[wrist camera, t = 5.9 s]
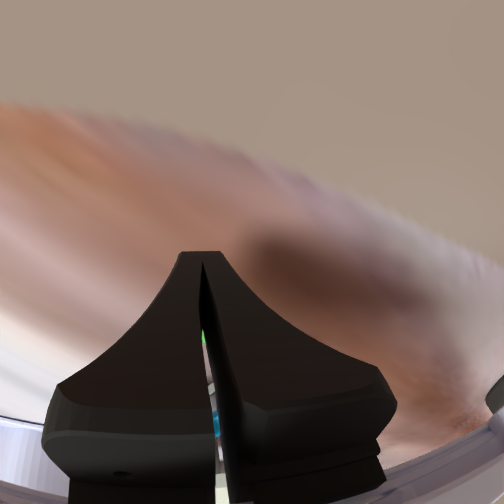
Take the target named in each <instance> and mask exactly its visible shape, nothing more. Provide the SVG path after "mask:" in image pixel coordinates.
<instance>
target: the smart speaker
mask: <svg viewBox="0 0 504 504" xmlns="http://www.w3.org/2000/svg"><path fill="white" fill-rule="evenodd" d="M486 404H487V406H488V407H489V409H490V410H491V412H492V414H493V415H494V414H495V413H496V412H497V411H498V410H499V409H500V408H501V407H502V406H504V376H503V377H502V378H501V379H500V380H499V381H498V382H497V383H496V384H495V385H494V386H493V388H492V389H491V390H490V392H489V393H488V395H487V397H486Z"/></svg>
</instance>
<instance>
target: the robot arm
mask: <svg viewBox="0 0 504 504" xmlns="http://www.w3.org/2000/svg"><path fill="white" fill-rule="evenodd" d="M202 328H203V333H204V338H205V344H206V349H207V354H208V358H209V363H210V368H211V373H212V378H213V382H214V388H215V394H216V403H217V411H218V420H219V428H220V436H221V444H222V452H223V460H224V468H225V475H226V483H227V490H228V497H229V504H367V503H368V504H493V503H495V502H496V501H497V500H498V499H499V498H500V497H501V496H503V495H504V406H502V407H501V408H500V409H499V410H498V411H497V412H496V413H495V414H494V415H493V416H492V417H491V418H490V419H489V420H488V422H487V423H486V424H484V425H482V426H480V427H479V428H477V429H475V430H473V431H471V432H470V433H468V434H466V435H464V436H462V437H460V438H458V439H456V440H454V441H452V442H450V443H448V444H446V445H444V446H442V447H440V448H438V449H435V450H433V451H431V452H429V453H426V454H424V455H422V456H420V457H417V458H415V459H412V460H410V461H407V462H405V463H402V464H400V465H397V466H394V467H392V468H389V469H386V470H383V469H382V467H381V465H380V462H379V460H378V458H377V455H379V453H380V447H379V445H378V442H377V440H376V438H377V437H378V436H379V435H380V433H381V432H382V431H383V430H384V428H385V427H386V426H387V424H388V423H389V422H390V421H391V419H392V417H393V415H394V414H395V412H396V409H397V400H396V399H395V397H394V395H393V393H392V391H391V389H390V387H389V385H388V383H387V381H386V380H385V378H384V376H383V375H382V373H381V372H380V370H379V369H378V367H376V366H374V365H371V364H368V363H366V362H363V361H361V360H358V359H355V358H353V357H350V356H348V355H345V354H343V353H341V352H339V351H337V350H335V349H333V348H331V347H329V346H327V345H325V344H323V343H321V342H319V341H317V340H315V339H314V338H312V337H310V336H308V335H307V334H305V333H304V332H302V331H301V330H299V329H297V328H296V327H294V326H293V325H291V324H290V323H288V322H287V321H286V320H284V319H283V318H282V317H280V316H279V315H278V314H277V313H275V312H274V311H273V310H272V309H270V308H269V307H268V306H267V305H266V304H265V303H264V302H263V301H262V300H261V299H260V298H259V297H258V296H257V295H256V294H255V293H254V292H253V291H252V290H251V289H250V288H249V287H248V286H247V285H246V284H245V282H244V281H243V280H242V279H241V278H240V277H239V275H238V274H237V273H236V272H235V270H234V269H233V268H232V267H231V265H230V264H229V262H228V261H227V260H226V258H225V257H224V255H223V254H222V253H221V252H220V251H188V252H181V253H180V254H179V255H178V258H177V261H176V263H175V265H174V267H173V269H172V271H171V273H170V275H169V277H168V278H167V280H166V282H165V284H164V285H163V287H162V288H161V290H160V291H159V293H158V294H157V296H156V297H155V299H154V300H153V301H152V303H151V304H150V306H149V307H148V308H147V309H146V311H145V312H144V313H143V314H142V316H141V317H140V318H139V319H138V320H137V321H136V323H135V324H134V325H133V326H132V327H131V328H130V329H129V330H128V331H127V332H126V333H125V334H124V335H123V336H122V337H121V338H120V339H119V340H118V341H117V342H116V343H115V344H114V345H112V346H111V347H110V348H109V349H108V350H106V351H105V352H104V353H103V354H102V355H100V356H99V357H98V358H97V359H95V360H94V361H93V362H91V363H90V364H89V365H87V366H86V367H84V368H83V369H81V370H80V371H78V372H76V373H75V374H73V375H72V376H70V377H69V378H67V379H66V380H64V381H62V382H61V383H59V384H57V386H56V389H55V391H54V394H53V396H52V399H51V401H50V404H49V407H48V410H47V414H46V418H45V423H44V426H42V425H36V424H31V423H25V422H20V421H15V420H11V419H6V418H2V417H0V504H216V495H215V486H216V457H215V431H214V423H213V415H212V407H211V402H210V396H209V390H208V383H207V377H206V370H205V363H204V355H203V347H202Z"/></svg>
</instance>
